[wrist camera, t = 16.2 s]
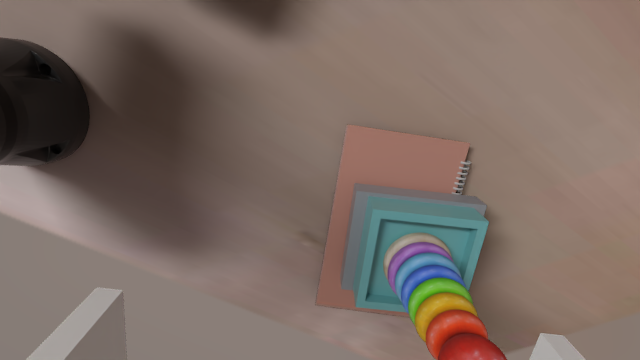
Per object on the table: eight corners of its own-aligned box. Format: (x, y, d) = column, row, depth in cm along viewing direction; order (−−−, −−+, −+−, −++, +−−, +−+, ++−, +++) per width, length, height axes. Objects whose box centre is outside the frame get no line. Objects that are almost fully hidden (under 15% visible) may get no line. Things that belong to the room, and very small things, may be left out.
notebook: (422, 311, 53) (426, 321, 51) (315, 297, 52) (315, 306, 50) (472, 141, 44) (479, 145, 43) (346, 122, 44) (347, 124, 42)
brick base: (339, 276, 48) (342, 309, 41) (354, 182, 44) (360, 203, 37) (451, 287, 48) (471, 322, 42) (476, 196, 44) (503, 219, 37)
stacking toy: (454, 277, 42) (553, 433, 24) (391, 294, 42) (441, 457, 25) (440, 221, 39) (538, 347, 21) (373, 240, 40) (414, 378, 22)
